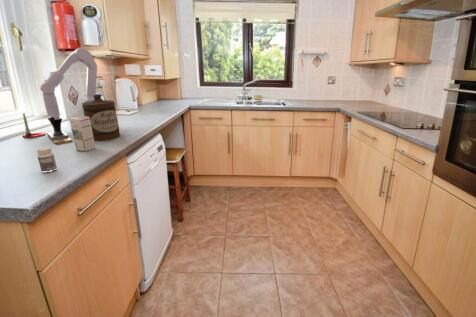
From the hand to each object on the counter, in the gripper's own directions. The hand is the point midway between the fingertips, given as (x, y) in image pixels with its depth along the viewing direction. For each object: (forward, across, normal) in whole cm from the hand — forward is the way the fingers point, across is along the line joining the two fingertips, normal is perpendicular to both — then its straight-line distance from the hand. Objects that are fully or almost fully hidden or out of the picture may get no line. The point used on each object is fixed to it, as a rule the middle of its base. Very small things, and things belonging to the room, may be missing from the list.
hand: (57, 130), depth 151 cm
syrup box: (+2, +43, +3) cm, 43 cm away
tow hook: (+2, -4, -10) cm, 11 cm away
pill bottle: (+2, +62, -14) cm, 64 cm away
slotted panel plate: (+2, +14, -2) cm, 14 cm away
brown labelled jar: (+2, +27, +16) cm, 31 cm away
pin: (+2, 0, 0) cm, 2 cm away
